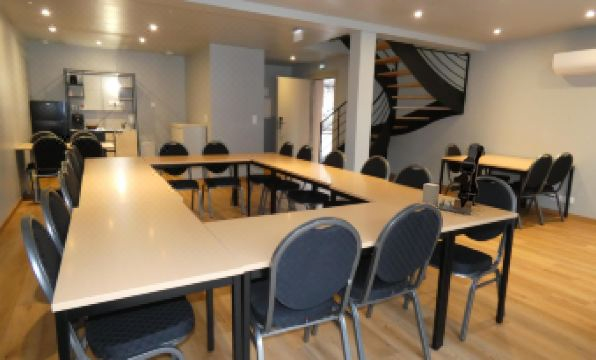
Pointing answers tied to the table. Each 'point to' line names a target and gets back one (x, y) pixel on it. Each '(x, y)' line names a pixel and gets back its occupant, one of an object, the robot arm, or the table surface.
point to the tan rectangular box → (466, 207)
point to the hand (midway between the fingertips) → (462, 206)
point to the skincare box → (431, 193)
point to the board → (451, 207)
